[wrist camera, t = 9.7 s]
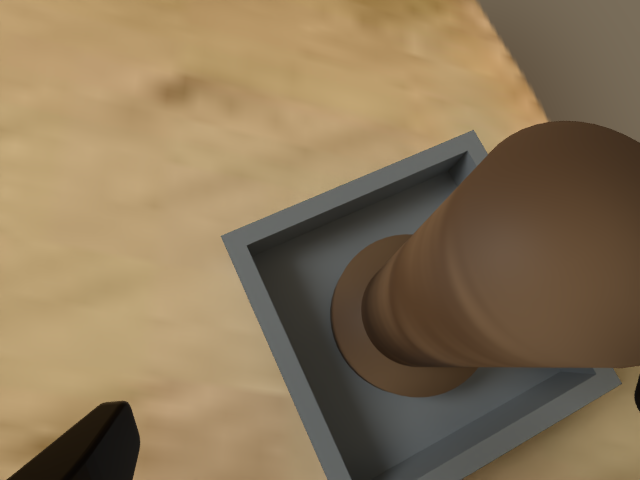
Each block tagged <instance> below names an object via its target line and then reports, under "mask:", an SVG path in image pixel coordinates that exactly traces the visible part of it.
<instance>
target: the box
mask: <svg viewBox="0 0 640 480" xmlns="http://www.w3.org/2000/svg"><path fill="white" fill-rule="evenodd" d="M487 155H488V154H487V152H486V150H485V149H484V147H483V145H482V143H481V142H480V140H479V138H478V137H477V135H476V133H475V131H474V130H472V131H470V132H468V133H465V134H463V135H460V136H458V137H456V138H453V139H451V140H449V141H446V142H444V143H441V144H439V145H437V146H434V147H432V148H429V149H427V150H425V151H422V152H420V153H418V154H415V155H413V156H410V157H408V158H406V159H403V160H401V161H398V162H396V163H394V164H391V165H389V166H387V167H384V168H382V169H379V170H377V171H375V172H372V173H370V174H367V175H365V176H363V177H360V178H358V179H356V180H353V181H351V182H348V183H346V184H344V185H341V186H339V187H336V188H334V189H332V190H329V191H327V192H325V193H322V194H320V195H317V196H315V197H313V198H310V199H308V200H305V201H303V202H301V203H298V204H296V205H294V206H291V207H289V208H286V209H284V210H282V211H279V212H277V213H274V214H272V215H270V216H267V217H265V218H263V219H260V220H258V221H255V222H253V223H251V224H248V225H246V226H244V227H241V228H239V229H236V230H234V231H232V232H229V233H227V234H224V235H222V236H221V237H222V240H223V242H224V244H225V247H226V249H227V251H228V253H229V256H230V258H231V260H232V263H233V265H234V267H235V269H236V272H237V274H238V276H239V278H240V281H241V283H242V285H243V288H244V290H245V292H246V294H247V297H248V299H249V301H250V304H251V306H252V308H253V310H254V313H255V315H256V317H257V320H258V322H259V324H260V326H261V329H262V331H263V333H264V336H265V338H266V340H267V342H268V345H269V347H270V349H271V352H272V354H273V356H274V358H275V361H276V363H277V365H278V367H279V370H280V372H281V374H282V377H283V379H284V381H285V383H286V386H287V388H288V390H289V393H290V395H291V397H292V399H293V402H294V404H295V406H296V409H297V411H298V413H299V415H300V418H301V420H302V422H303V425H304V427H305V429H306V431H307V434H308V436H309V438H310V440H311V443H312V445H313V447H314V450H315V452H316V454H317V456H318V459H319V461H320V463H321V466H322V468H323V470H324V472H325V475H326V477H327V479H328V480H461V479H463V478H465V477H466V476H468V475H470V474H471V473H473V472H475V471H476V470H478V469H480V468H481V467H483V466H485V465H486V464H488V463H490V462H491V461H493V460H495V459H496V458H498V457H500V456H502V455H503V454H505V453H507V452H508V451H510V450H512V449H513V448H515V447H517V446H518V445H520V444H522V443H523V442H525V441H527V440H528V439H530V438H532V437H533V436H535V435H537V434H538V433H540V432H542V431H543V430H545V429H547V428H548V427H550V426H552V425H553V424H555V423H557V422H559V421H560V420H562V419H564V418H565V417H567V416H569V415H570V414H572V413H574V412H575V411H577V410H579V409H580V408H582V407H584V406H585V405H587V404H589V403H590V402H592V401H594V400H595V399H597V398H599V397H600V396H602V395H604V394H605V393H607V392H609V391H611V390H612V389H614V388H616V387H617V386H619V385H621V384H622V383H621V381H620V379H619V378H618V376H617V374H616V373H615V371H614V369H613V368H525V367H478V369H477V370H476V371H475V372H474V373H473V374H472V376H471V377H469V378H468V379H467V380H466V381H465V382H464V383H462V384H461V385H459V386H458V387H456V388H455V389H452V390H450V391H448V392H446V393H443V394H439V395H436V396H430V397H407V396H401V395H397V394H393V393H390V392H386V391H383V390H381V389H379V388H376V387H374V386H372V385H371V384H369V383H367V382H366V381H364V380H363V379H362V378H361V377H359V376H358V375H357V374H356V373H355V372H354V371H353V370H352V369H351V368H350V367H349V365H348V364H347V363H346V361H345V360H344V359H343V357H342V355H341V353H340V352H339V350H338V348H337V345H336V343H335V340H334V337H333V333H332V329H331V321H330V308H331V300H332V296H333V293H334V289H335V287H336V285H337V282H338V280H339V278H340V277H341V275H342V273H343V272H344V270H345V268H346V266H347V265H348V264H349V263H350V261H351V260H352V259H353V258H354V257H355V256H356V255H357V254H358V253H359V252H360V251H361V250H363V249H364V248H365V247H367V246H368V245H370V244H372V243H374V242H375V241H378V240H380V239H383V238H386V237H390V236H394V235H403V234H414V233H415V232H416V231H417V229H418V228H419V227H420V226H421V225H422V224H423V223H424V222H425V221H426V220H427V219H428V218H429V217H430V216H431V215H432V214H433V212H434V211H435V210H436V209H437V208H438V207H439V206H440V205H441V204H442V203H443V202H444V201H445V200H446V199H447V198H448V197H449V195H450V194H451V193H452V192H453V191H454V190H455V189H456V188H457V187H458V186H459V185H460V184H461V183H462V182H463V181H464V180H465V178H466V177H467V176H468V175H469V174H470V173H471V172H472V171H473V170H474V169H475V168H476V167H477V166H478V165H479V164H480V163H481V161H482V160H483V159H484V158H485V157H486V156H487Z"/></svg>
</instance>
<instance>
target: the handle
mask: <svg viewBox="0 0 640 480" xmlns="http://www.w3.org/2000/svg"><path fill="white" fill-rule="evenodd" d="M330 321H331V329H332V333H333V337H334V340H335V343H336V345H337V348H338V350H339V352H340V353H341V355H342V357H343V359H344V360H345V361H346V363H347V364H348V365H349V367H350V368H351V369H352V370H353V371H354V372H355V373H356V374H357V375H358V376H359V377H361V378H362V379H363V380H364V381H366V382H367V383H369V384H371V385H372V386H374V387H376V388H379V389H381V390H383V391H386V392H390V393H393V394H397V395H401V396H407V397H430V396H436V395H439V394H443V393H446V392H448V391H450V390H452V389H455V388H456V387H458V386H459V385H461V384H462V383H464V382H465V381H466V380H467V379H468V378H469V377H471V376H472V374H473V373H474V372H475V371H476V370H477V369H478V367H525V368H626V367H633V366H640V143H639V142H637V141H635V140H633V139H632V138H630V137H628V136H626V135H624V134H621V133H619V132H616V131H614V130H612V129H609V128H606V127H602V126H599V125H595V124H590V123H584V122H576V121H556V122H547V123H542V124H537V125H534V126H531V127H528V128H525V129H522V130H520V131H518V132H516V133H515V134H513V135H511V136H509V137H508V138H506V139H505V140H504V141H502V142H501V143H499V144H498V145H497V146H496V147H495V148H494V149H493V150H492V151H491V152H490V153H489V154H488V155H487V156H486V157H485V158H484V159H483V160H482V161H481V163H480V164H479V165H478V166H477V167H476V168H475V169H474V170H473V171H472V172H471V173H470V174H469V175H468V176H467V177H466V178H465V180H464V181H463V182H462V183H461V184H460V185H459V186H458V187H457V188H456V189H455V190H454V191H453V192H452V193H451V194H450V195H449V197H448V198H447V199H446V200H445V201H444V202H443V203H442V204H441V205H440V206H439V207H438V208H437V209H436V210H435V211H434V212H433V214H432V215H431V216H430V217H429V218H428V219H427V220H426V221H425V222H424V223H423V224H422V225H421V226H420V227H419V228H418V229H417V231H416V232H415V233H414V234H403V235H394V236H390V237H386V238H383V239H380V240H378V241H375V242H374V243H372V244H370V245H368V246H367V247H365V248H364V249H363V250H361V251H360V252H359V253H358V254H357V255H356V256H355V257H354V258H353V259H352V260H351V261H350V263H349V264H348V265H347V266H346V268H345V270H344V272H343V273H342V275H341V277H340V278H339V280H338V282H337V285H336V287H335V289H334V293H333V296H332V300H331V308H330Z"/></svg>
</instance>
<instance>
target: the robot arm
mask: <svg viewBox="0 0 640 480" xmlns="http://www.w3.org/2000/svg"><path fill="white" fill-rule="evenodd" d="M634 395H635V403H636V405H637V408H638V410H639V411H640V376H639V379H638V383H637V386H636V390H635V394H634ZM139 449H140V436H139V432H138V429H137V426H136V422H135V419H134V416H133V412H132V409H131V407H130V405H129V403H128V402H126V401H115V402H105V403H102V404H100V405H99V406H97V407H96V408H95V409H94V410H92V411H91V412H90V413H89V414H87V415H86V416H85V417H84V418H82V419H81V420H80V421H79V422H78V423H76V424H75V425H74V426H73V427H71V428H70V429H69V430H68V431H66V432H65V433H64V434H63V435H61V436H60V437H59V438H58V439H57V440H55V441H54V442H53V443H52V444H50V445H49V446H48V447H47V448H45V449H44V450H43V451H42V452H40V453H39V454H38V455H37V456H35V457H34V458H33V459H32V460H31V461H29V462H28V463H27V464H26V465H24V466H23V467H22V468H21V469H19V470H18V471H17V472H16V473H14V474H13V475H12V476H11V477H9V478H8V479H7V480H133V475H134V471H135V467H136V463H137V458H138V454H139Z"/></svg>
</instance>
